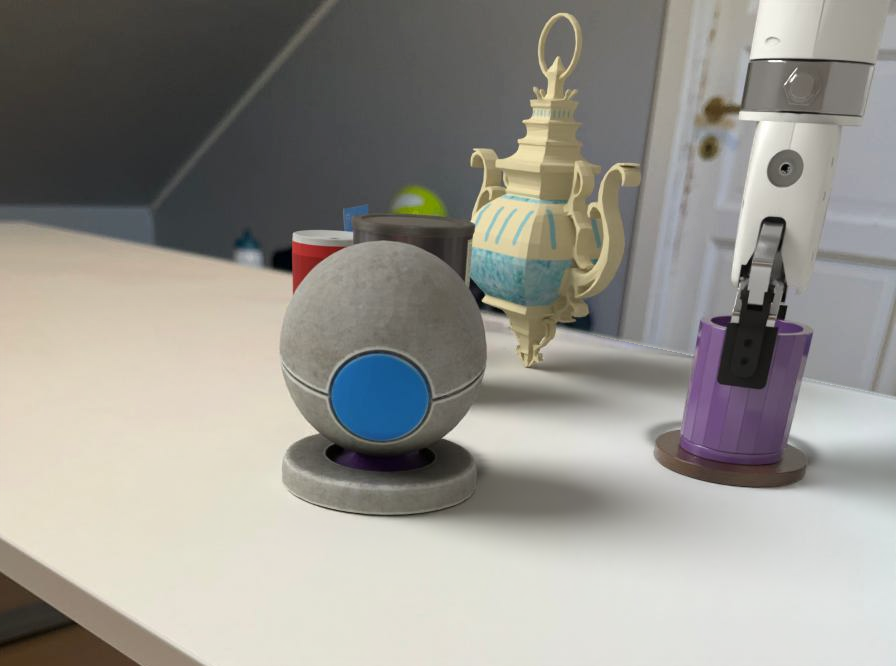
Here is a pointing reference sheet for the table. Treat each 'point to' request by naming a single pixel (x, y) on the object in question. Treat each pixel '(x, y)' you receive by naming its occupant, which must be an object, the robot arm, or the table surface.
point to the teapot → (546, 218)
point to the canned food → (315, 250)
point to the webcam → (382, 380)
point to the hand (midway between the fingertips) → (747, 371)
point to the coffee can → (421, 235)
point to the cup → (743, 398)
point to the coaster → (729, 465)
